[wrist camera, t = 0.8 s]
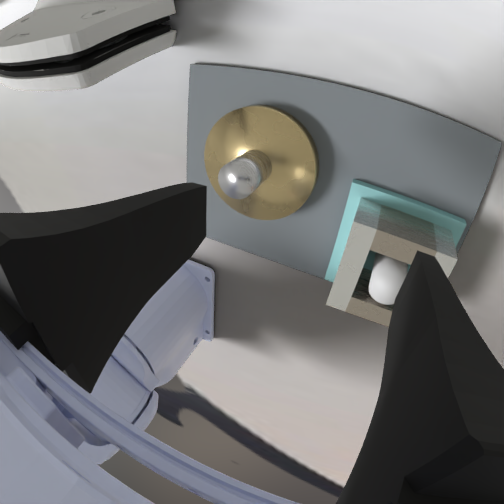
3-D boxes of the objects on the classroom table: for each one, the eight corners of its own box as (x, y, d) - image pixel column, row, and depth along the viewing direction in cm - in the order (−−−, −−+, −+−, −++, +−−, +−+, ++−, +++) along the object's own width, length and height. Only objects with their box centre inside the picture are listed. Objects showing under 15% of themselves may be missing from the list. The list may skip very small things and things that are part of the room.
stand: (420, 307, 19) (417, 351, 16) (326, 273, 21) (309, 313, 18) (464, 219, 15) (476, 257, 12) (353, 178, 17) (341, 207, 14)
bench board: (423, 310, 20) (423, 314, 19) (190, 227, 25) (187, 230, 25) (500, 141, 12) (502, 143, 12) (193, 63, 17) (190, 64, 17)
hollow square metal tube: (415, 302, 19) (413, 335, 16) (336, 274, 20) (325, 304, 18) (451, 230, 15) (457, 259, 13) (361, 197, 17) (353, 221, 15)
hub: (307, 227, 20) (288, 257, 17) (210, 196, 22) (180, 220, 19) (329, 118, 16) (313, 130, 13) (215, 96, 18) (180, 106, 15)
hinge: (190, -22, 14) (54, 28, 9) (191, 38, 18) (75, 109, 13) (53, -9, 17) (-38, 41, 12) (60, 30, 21) (-23, 83, 16)
